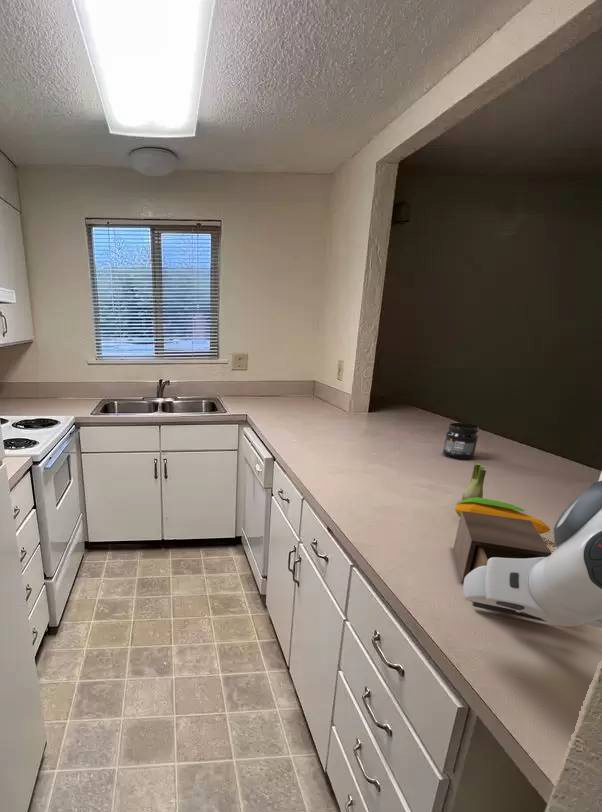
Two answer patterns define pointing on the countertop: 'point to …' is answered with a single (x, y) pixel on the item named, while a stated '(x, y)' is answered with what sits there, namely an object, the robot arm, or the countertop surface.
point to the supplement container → (460, 441)
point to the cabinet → (494, 538)
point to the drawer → (481, 560)
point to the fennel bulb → (475, 483)
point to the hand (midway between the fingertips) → (525, 609)
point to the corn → (498, 511)
